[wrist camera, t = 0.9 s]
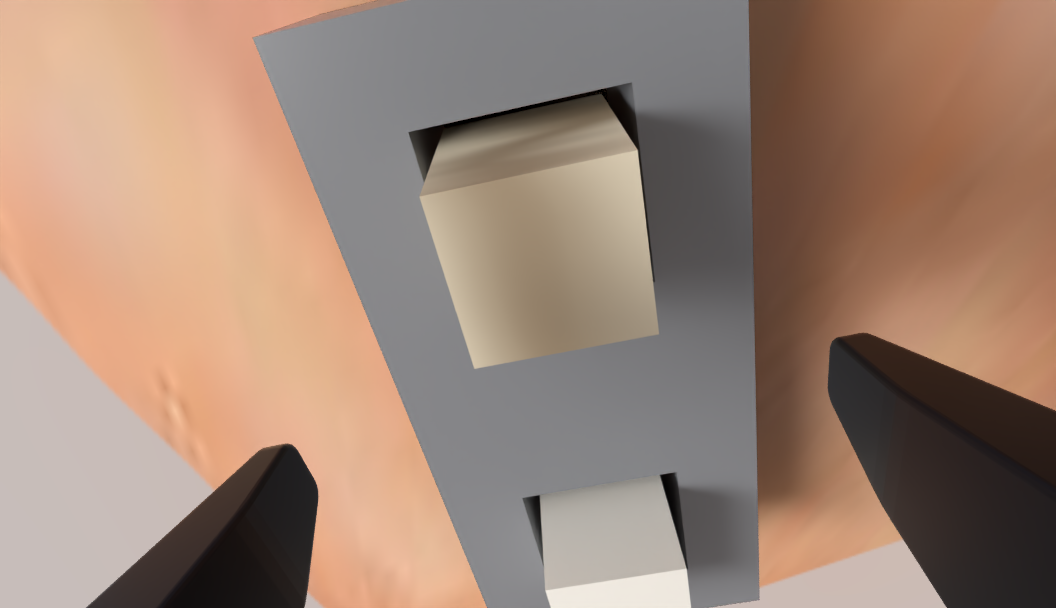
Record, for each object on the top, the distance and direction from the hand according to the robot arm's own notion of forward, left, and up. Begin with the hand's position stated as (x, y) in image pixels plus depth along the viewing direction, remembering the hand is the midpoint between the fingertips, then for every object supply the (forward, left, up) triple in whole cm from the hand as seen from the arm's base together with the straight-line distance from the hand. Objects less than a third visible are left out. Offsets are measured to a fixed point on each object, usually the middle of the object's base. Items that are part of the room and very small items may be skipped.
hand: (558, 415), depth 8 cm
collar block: (0, +6, -12) cm, 14 cm away
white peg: (0, +12, -9) cm, 15 cm away
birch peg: (0, 0, -9) cm, 9 cm away
